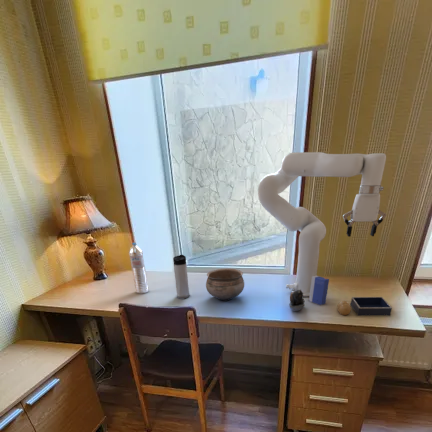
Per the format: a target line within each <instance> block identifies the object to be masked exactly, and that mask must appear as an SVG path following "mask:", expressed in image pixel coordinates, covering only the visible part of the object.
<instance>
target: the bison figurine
mask: <svg viewBox="0 0 432 432" xmlns="http://www.w3.org/2000/svg"><path fill="white" fill-rule="evenodd" d="M305 303H306V300H305V299H304V296H303V293H302V291H301V289H300V290H296V291H295V292H292V291H291V292H290V295H289V308H290V309H291V310H292V311H293V312H298V311H300V310H302V309H303V308H305Z"/></svg>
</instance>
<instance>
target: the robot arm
mask: <svg viewBox="0 0 432 432" xmlns="http://www.w3.org/2000/svg"><path fill="white" fill-rule="evenodd" d="M386 161H387V154H386V153H384V152H375V153H368V154H366V153H358V152H357V153H326V152H323V151H322V152H321V151H306V152H305V151H304V152H300V151H296V152H295V151H294V152H289V153H287V154H286V155H284V156H283V158H282V161H281V167H280V168H279V169H278V170H277V171H276V172H275V173H269V174H266V175H265V176H263V177H262V178H261V180H260V181H259V184H258V187H257V195H258V200H259V203H260V205H261V206H262V208H264V210H265V211H267V213H269V214H270V216H272V217H273V218H274V219H275V220H277V221H278V222H279V223H280V224H281V225H282V226H283V227H284V228H285V229H287V231H289V232H297V231H298V232H300V233H299V236H298V254H297V255H298V256H297V268H296V276H295V278H296V279H295V281H294V283H292V284H290V283H289V284H285V288H286V289H288V290H291V293H292V292H295V291H296V290H300V289H301V291H302V293H303V297H310V289H311V282H312V276H316V275H317V273H318V268H319V267H318V266H319V258H320V243H321V242H322V241H323V240H324V239H325V237H326V235H327V228H326V225H325V223H323V222H322V221H321V220H320V219H319V218H318V217H317V216H315V215H314V214H313V213H312V212H311V211H310V210H308V209H307V208H305V207H303V206H297V207H295V206H293V205H292V204H291V203H290V202H288V200H287V199H286V198H284V197H283V196H280V194H281V193H283V192H284V191H285V190H286V189H288V187H289V186H291V185H292V184H293V182H295V180H297V179H298V178H299V177H315V178H323V177H326V178H327V177H329V178H351V177H356V176H360V175H361V181H360V185H359V191H358V193H357V194H355V198H354V201H353V204H352V208H351V210H350V211H347V212H345V213H344V214H343V215H342V218H343V221H344V223H345V224H346V226H347V228H346V235H347V237H349V238H350V237H351V236H352V231H353V224H355V223H357V222H359V223H361V222H363V223H366V222H367V223H368V222H372V225H371V229H370V233H369V235H370V236H371V237H375V235H376V232H377V229H378V226H379V225H380V224H381V223H382V222H383V221H384V220H385V218H386V217H387V213H386V212H383V211H382V210H381V209H380V204H381V194H380V192H381V191H384V186H382V180H383V176H384V171H385V166H386ZM379 215H380V218H379ZM349 216H350V220H348V217H349ZM317 276H318V275H317Z"/></svg>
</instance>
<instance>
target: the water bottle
mask: <svg viewBox="0 0 432 432" xmlns="http://www.w3.org/2000/svg"><path fill="white" fill-rule="evenodd" d="M131 244H132V246H131V247H130V249H129V250H128V255H129V260H130V265H131V272H132V278H133V283H134V289H135V293H137V294H142V295H143V294H146V293H149V283H148V278H147V272H146V266H145V261H144V255H143V253H144V252H143V249H141V248H140V247H139V246H138V245H137V242H132V243H131Z"/></svg>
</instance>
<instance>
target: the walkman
mask: <svg viewBox="0 0 432 432" xmlns="http://www.w3.org/2000/svg"><path fill="white" fill-rule="evenodd" d="M329 284H330V279H329V278H328V277H323V276H319V275H316V276H312V282H311V289H310V296H308V298H309V299H308V301H309V302H310V303H314V304H317V305H319V306H322V305H325V304H326V302H327V296H328V289H329Z"/></svg>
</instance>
